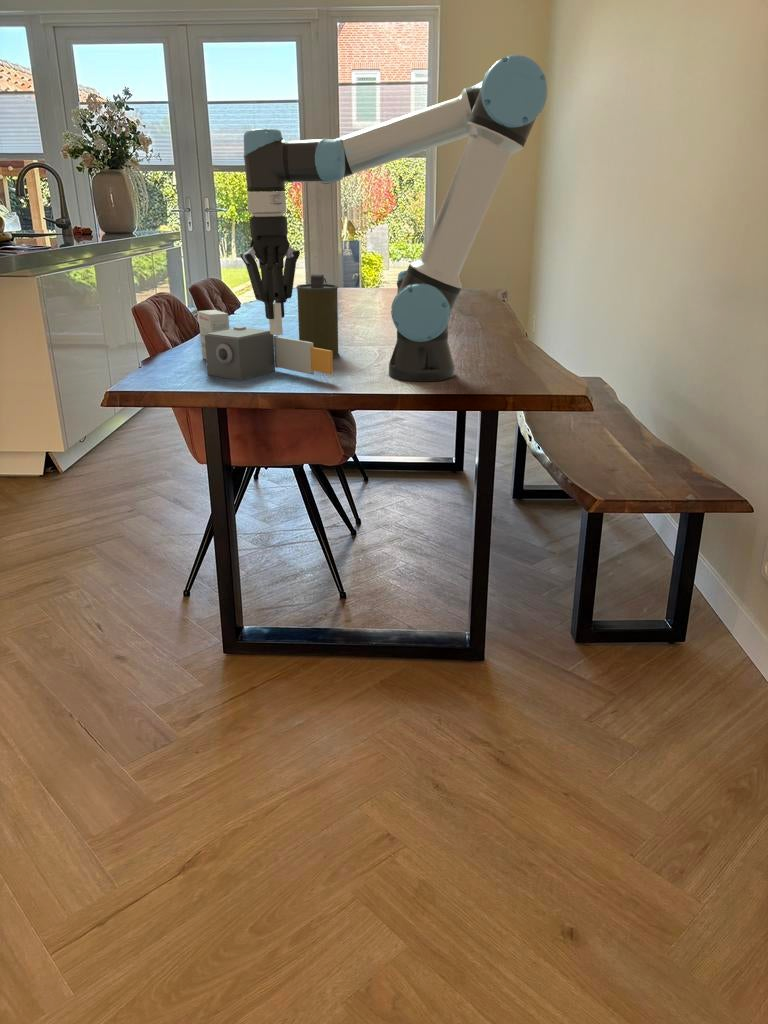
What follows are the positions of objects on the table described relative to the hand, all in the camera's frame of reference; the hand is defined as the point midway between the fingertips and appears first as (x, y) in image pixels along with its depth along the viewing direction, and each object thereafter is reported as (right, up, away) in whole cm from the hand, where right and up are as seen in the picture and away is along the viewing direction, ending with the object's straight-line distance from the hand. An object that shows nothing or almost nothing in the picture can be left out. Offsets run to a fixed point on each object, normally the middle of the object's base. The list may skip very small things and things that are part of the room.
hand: (276, 334), depth 162 cm
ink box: (-19, 0, +28) cm, 34 cm away
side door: (+4, -6, +11) cm, 14 cm away
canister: (+6, +2, +35) cm, 35 cm away
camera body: (-10, -5, +15) cm, 19 cm away
